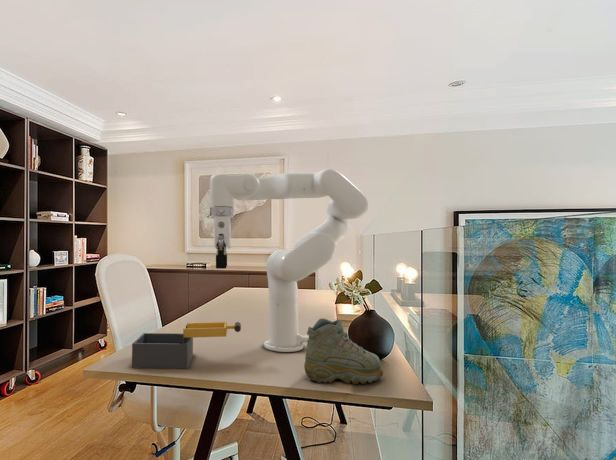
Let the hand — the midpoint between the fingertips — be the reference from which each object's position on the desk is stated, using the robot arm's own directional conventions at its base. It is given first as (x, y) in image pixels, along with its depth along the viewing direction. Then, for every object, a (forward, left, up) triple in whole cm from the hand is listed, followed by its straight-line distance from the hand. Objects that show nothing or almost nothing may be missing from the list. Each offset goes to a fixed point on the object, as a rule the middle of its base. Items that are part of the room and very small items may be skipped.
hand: (221, 267), depth 121 cm
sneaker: (-32, +23, -26) cm, 47 cm away
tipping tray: (+2, +11, -18) cm, 21 cm away
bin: (+16, +11, -26) cm, 33 cm away
